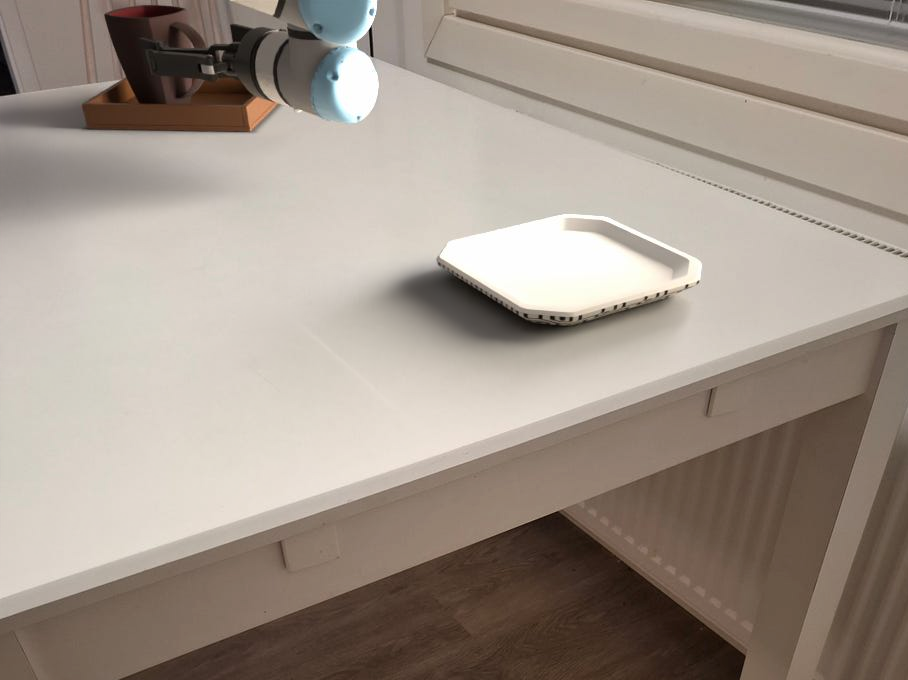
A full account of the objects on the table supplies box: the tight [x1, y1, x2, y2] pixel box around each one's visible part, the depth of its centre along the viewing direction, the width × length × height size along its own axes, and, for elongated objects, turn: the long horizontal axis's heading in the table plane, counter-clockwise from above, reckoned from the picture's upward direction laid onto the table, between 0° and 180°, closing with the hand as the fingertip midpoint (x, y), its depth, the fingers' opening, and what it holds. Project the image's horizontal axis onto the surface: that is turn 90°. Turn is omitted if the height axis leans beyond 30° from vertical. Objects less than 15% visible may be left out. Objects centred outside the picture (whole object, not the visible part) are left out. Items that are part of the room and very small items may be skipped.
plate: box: [436, 213, 703, 327], centre depth 86 cm, size 21×21×2 cm
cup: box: [103, 4, 208, 104], centre depth 129 cm, size 10×14×12 cm
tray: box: [81, 76, 280, 133], centre depth 133 cm, size 24×20×3 cm
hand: (189, 42), depth 121 cm, fingers open, 13 cm apart
